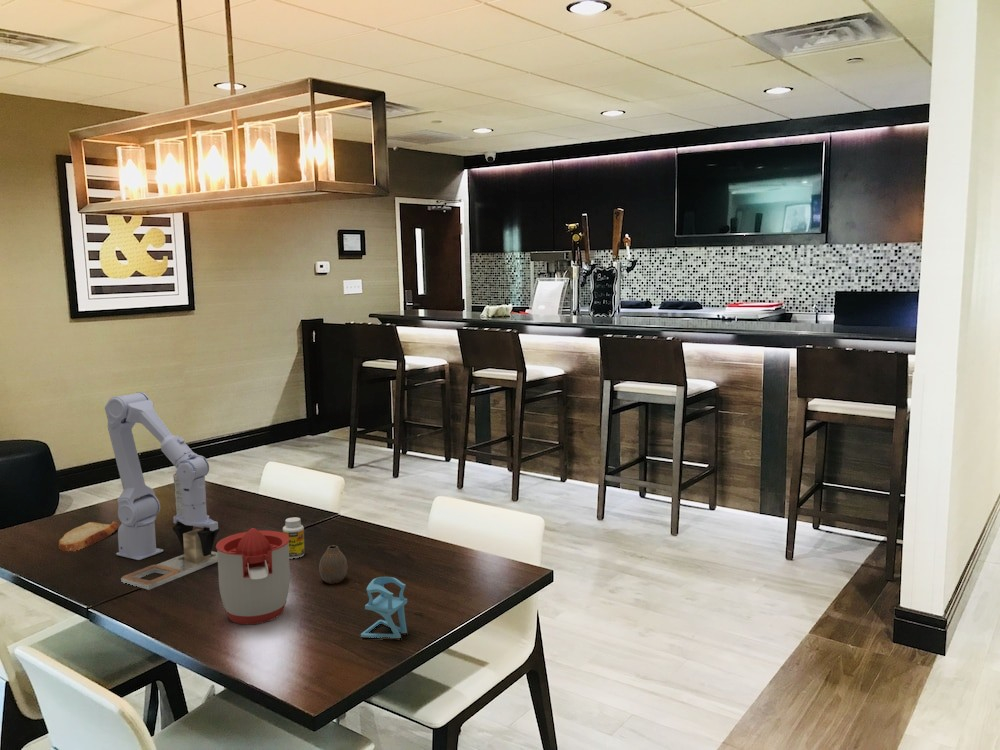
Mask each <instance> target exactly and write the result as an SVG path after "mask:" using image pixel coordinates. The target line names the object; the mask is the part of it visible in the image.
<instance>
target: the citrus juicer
mask: <svg viewBox="0 0 1000 750" xmlns="http://www.w3.org/2000/svg"><path fill="white" fill-rule="evenodd" d="M289 541H290V538H289V536H288V535H286V534H285V533H283V532H281V531H278V530H277V531H276V530H258V529H256V528H255V527H252V528H250V529H249V530H248V531H243V532H238V533H234V534H230V535H228V536H226V537H224V538H221V539H220V540H219V541H217V543H216V545H215V549H216V550H217V551H216V552H217V553H218V562H217V571H218V586H219V587H218V588H219V593H220V598H221V602H222V605H223V607H224V611H225V613H226V615H227V617H228V619H229V620H230V621H231V622H233V623H237V624H238V625H242V626H243V625H256V624H261V623H266V622H269V621H270V622H271V621H273V620H275V619H277V618H278V617H280V615H282V613H283V612H284V609H285V607H286V603H287V599H288V595H289V589H290V581H291V580H290V579H291V575H290V574H291V573H290V569H291V568H290V559H289Z"/></svg>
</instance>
